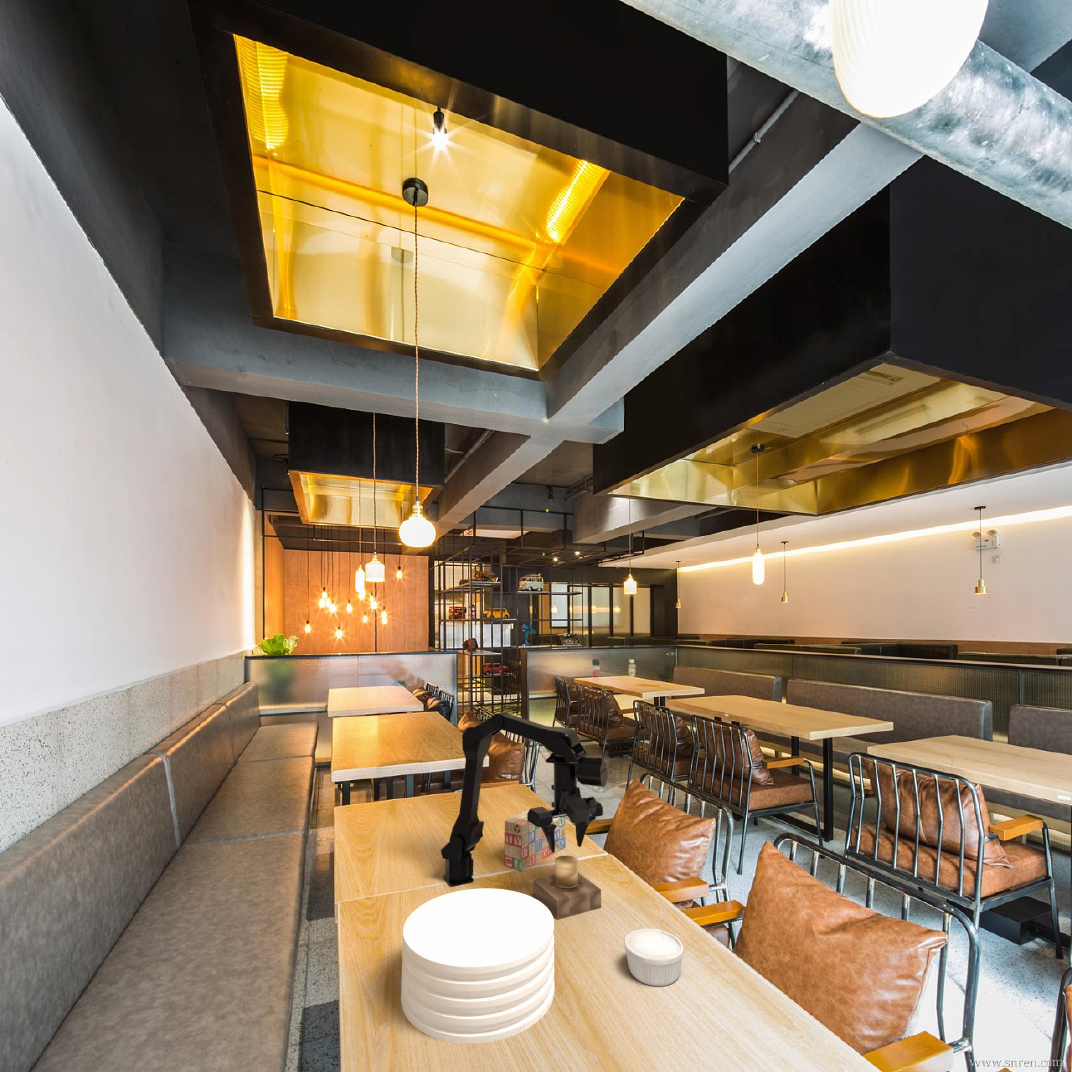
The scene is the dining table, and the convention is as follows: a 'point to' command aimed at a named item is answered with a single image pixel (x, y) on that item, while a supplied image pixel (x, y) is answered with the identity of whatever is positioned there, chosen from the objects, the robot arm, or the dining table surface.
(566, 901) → the board
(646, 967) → the ramekin
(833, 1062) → the dining table surface
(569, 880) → the peg
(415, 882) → the dining table surface
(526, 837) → the stack of blocks
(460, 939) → the plate stack
